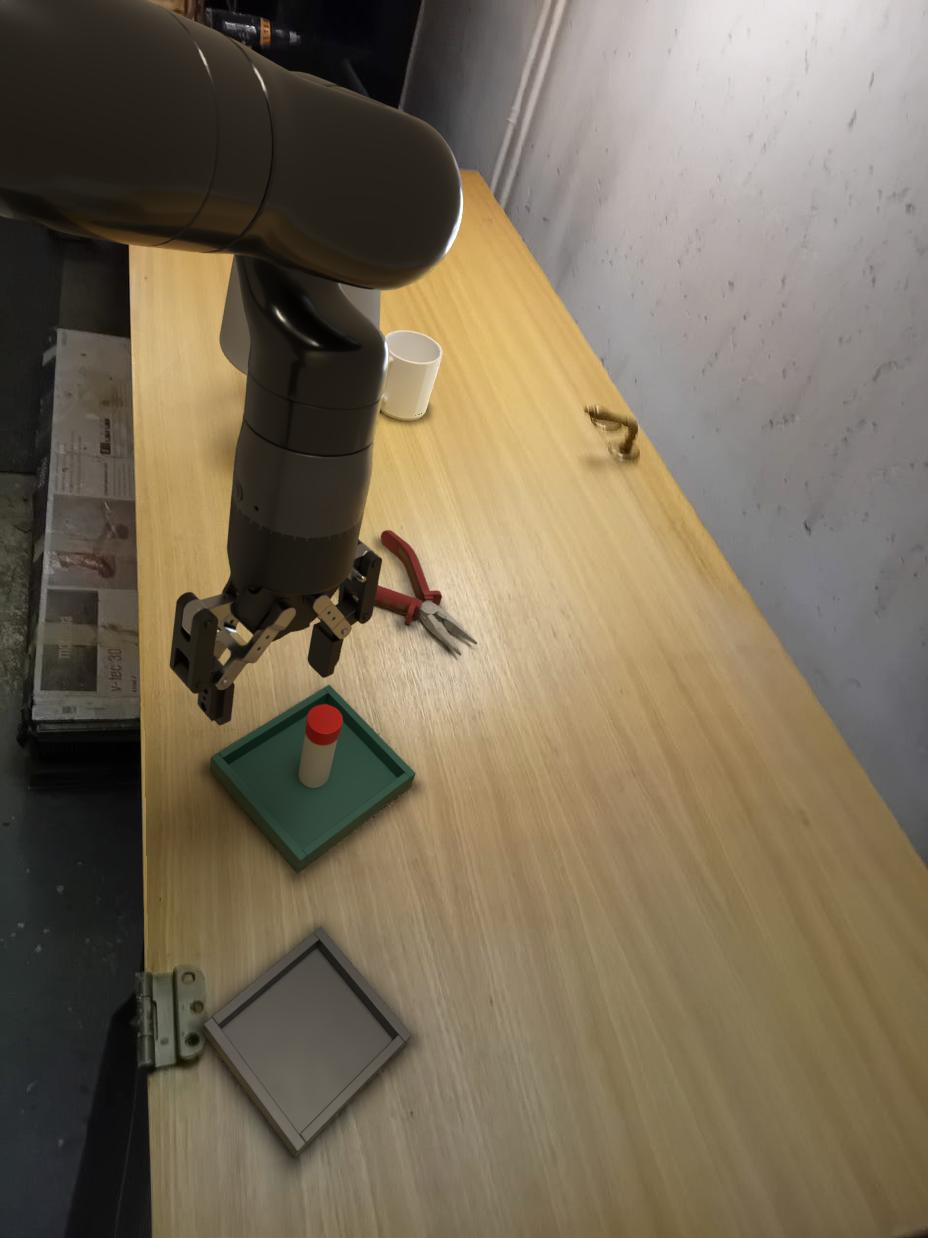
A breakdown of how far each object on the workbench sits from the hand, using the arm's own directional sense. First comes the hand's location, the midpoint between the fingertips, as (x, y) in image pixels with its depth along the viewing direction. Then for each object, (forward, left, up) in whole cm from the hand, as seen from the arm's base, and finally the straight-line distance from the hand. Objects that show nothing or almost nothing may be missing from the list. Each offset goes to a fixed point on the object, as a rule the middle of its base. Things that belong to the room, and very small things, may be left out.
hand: (271, 691), depth 57 cm
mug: (+60, +46, -26) cm, 80 cm away
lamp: (+37, +43, -26) cm, 62 cm away
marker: (+9, +3, -25) cm, 27 cm away
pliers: (+32, +16, -26) cm, 44 cm away
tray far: (+9, +3, -26) cm, 28 cm away
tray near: (-6, -16, -26) cm, 31 cm away
